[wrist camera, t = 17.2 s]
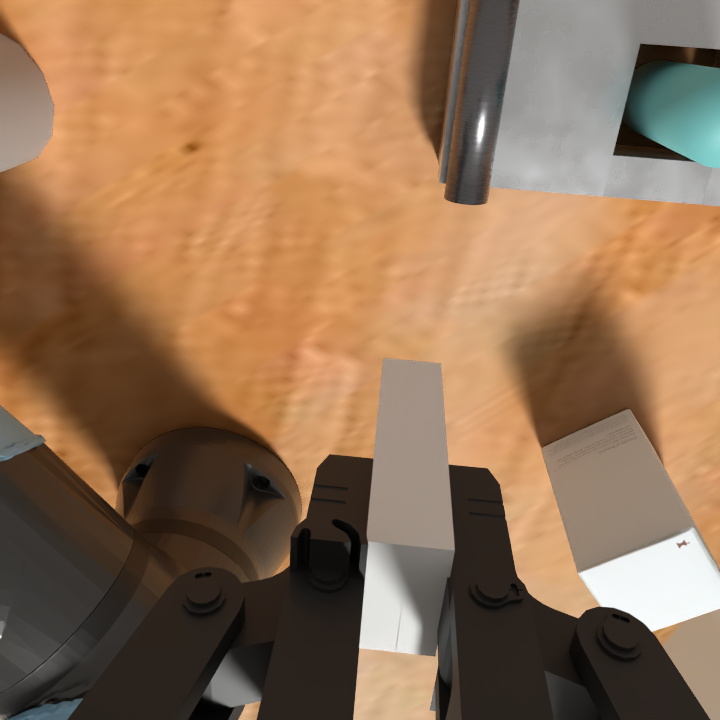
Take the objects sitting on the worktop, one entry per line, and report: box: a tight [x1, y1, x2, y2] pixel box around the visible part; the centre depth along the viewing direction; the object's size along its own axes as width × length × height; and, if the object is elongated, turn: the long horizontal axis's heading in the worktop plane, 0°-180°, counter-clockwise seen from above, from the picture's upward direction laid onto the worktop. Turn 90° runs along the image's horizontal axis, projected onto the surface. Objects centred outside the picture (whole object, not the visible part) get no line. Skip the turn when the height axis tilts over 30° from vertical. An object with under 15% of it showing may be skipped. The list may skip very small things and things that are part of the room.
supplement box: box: [542, 409, 720, 632], centre depth 43 cm, size 7×7×13 cm
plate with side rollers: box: [438, 0, 720, 206], centre depth 34 cm, size 11×24×6 cm, turn 86°
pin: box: [622, 60, 720, 168], centre depth 32 cm, size 4×4×10 cm
